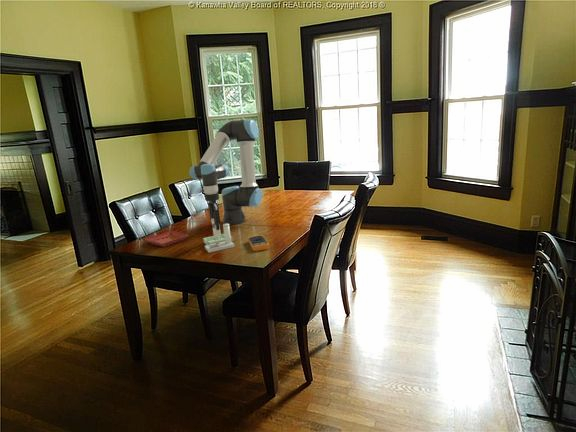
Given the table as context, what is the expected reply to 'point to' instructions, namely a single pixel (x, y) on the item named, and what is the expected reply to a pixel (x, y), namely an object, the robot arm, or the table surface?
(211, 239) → the parts tray
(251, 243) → the multimeter
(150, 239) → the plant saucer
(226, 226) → the fuse
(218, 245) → the fuse panel
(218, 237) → the fuse
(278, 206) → the table surface
